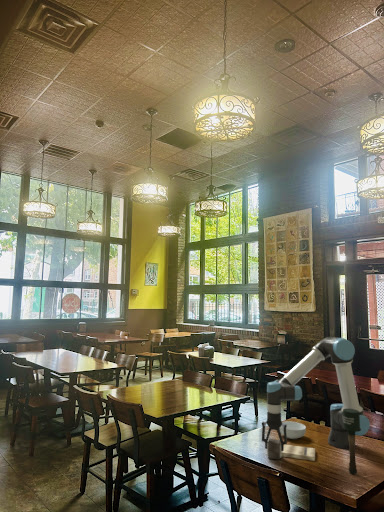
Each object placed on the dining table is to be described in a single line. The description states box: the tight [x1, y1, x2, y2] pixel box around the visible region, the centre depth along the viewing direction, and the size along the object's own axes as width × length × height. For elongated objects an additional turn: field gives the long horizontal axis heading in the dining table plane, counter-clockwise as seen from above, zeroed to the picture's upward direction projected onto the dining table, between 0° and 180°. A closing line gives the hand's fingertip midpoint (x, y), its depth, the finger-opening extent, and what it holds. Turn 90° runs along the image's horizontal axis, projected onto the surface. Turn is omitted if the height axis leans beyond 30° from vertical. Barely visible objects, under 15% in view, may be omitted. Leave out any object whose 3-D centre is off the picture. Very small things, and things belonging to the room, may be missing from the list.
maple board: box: [282, 444, 316, 462], centre depth 212 cm, size 24×13×2 cm, turn 72°
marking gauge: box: [267, 438, 281, 461], centre depth 212 cm, size 6×18×8 cm, turn 162°
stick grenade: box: [342, 409, 361, 475], centre depth 190 cm, size 8×9×30 cm
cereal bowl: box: [280, 420, 307, 440], centre depth 239 cm, size 17×17×7 cm
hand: (274, 456), depth 206 cm, fingers closed on marking gauge, 6 cm apart
